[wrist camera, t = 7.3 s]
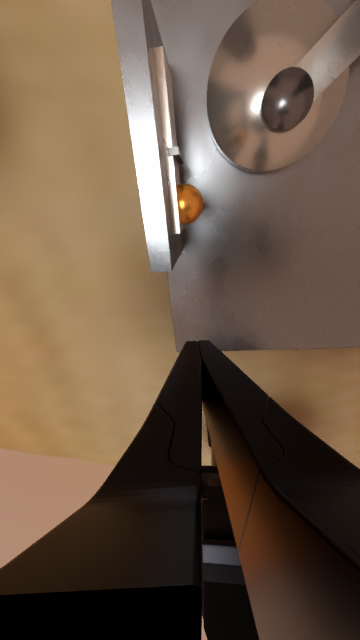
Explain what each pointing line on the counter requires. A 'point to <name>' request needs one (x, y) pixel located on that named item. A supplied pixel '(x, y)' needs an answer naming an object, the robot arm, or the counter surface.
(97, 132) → the counter surface
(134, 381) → the counter surface
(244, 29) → the crank handle
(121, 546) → the robot arm
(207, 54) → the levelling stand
